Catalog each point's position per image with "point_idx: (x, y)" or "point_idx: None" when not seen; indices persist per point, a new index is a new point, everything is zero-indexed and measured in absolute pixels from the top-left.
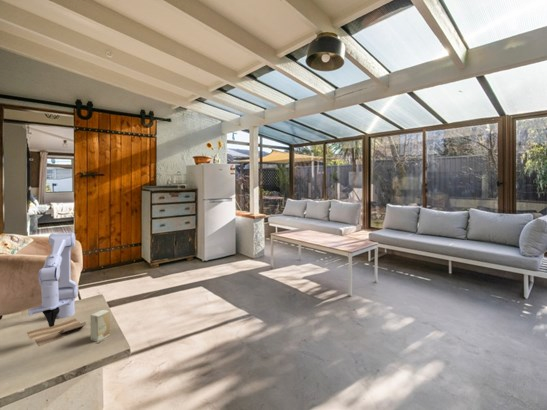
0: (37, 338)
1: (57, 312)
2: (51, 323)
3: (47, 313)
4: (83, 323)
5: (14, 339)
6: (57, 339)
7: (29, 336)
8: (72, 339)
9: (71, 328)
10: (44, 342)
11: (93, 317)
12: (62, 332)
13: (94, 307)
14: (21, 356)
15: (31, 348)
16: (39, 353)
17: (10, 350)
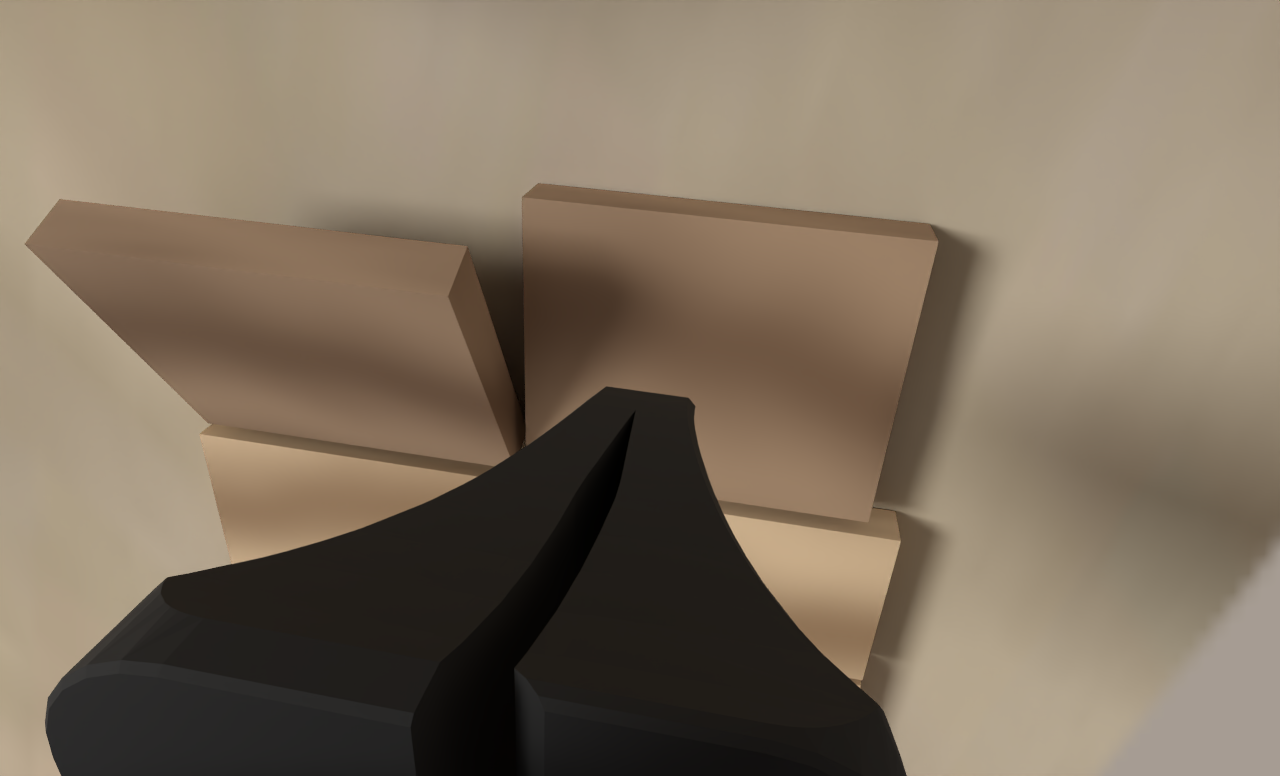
0: (822, 529)
1: (265, 581)
2: (646, 425)
3: (772, 772)
4: (78, 232)
5: (973, 772)
6: (623, 210)
7: (863, 673)
8: (418, 75)
9: (318, 241)
10: (819, 289)
11: None
12: (492, 329)
13: (53, 762)
14: (1253, 182)
15: (992, 343)
16: (1022, 4)
17: (1191, 541)
